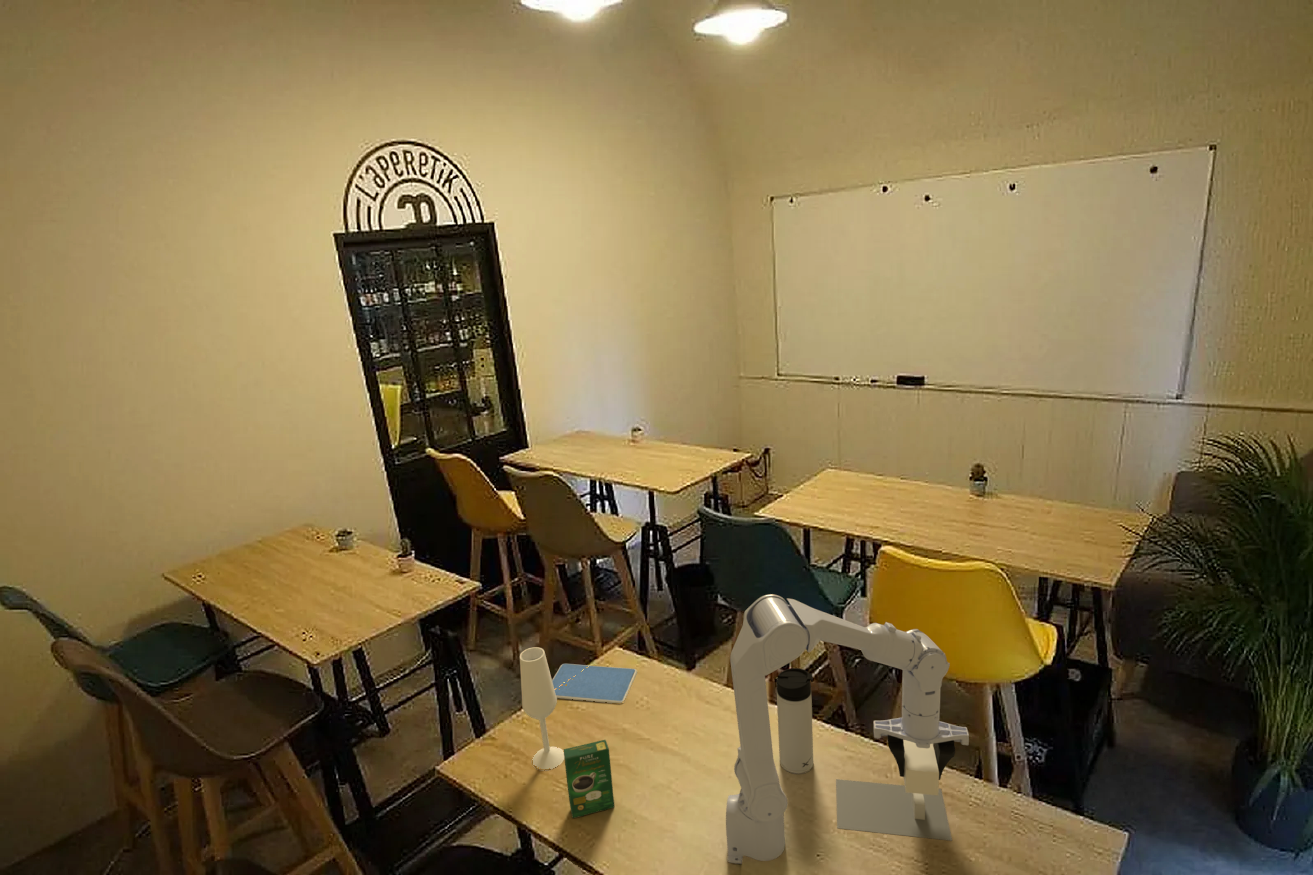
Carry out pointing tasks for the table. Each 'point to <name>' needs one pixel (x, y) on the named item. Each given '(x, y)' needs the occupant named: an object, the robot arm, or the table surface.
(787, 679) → the travel mug
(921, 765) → the cream rectangular block
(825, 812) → the table surface
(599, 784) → the coffee box
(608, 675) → the tablet computer
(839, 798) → the board
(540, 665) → the champagne flute
